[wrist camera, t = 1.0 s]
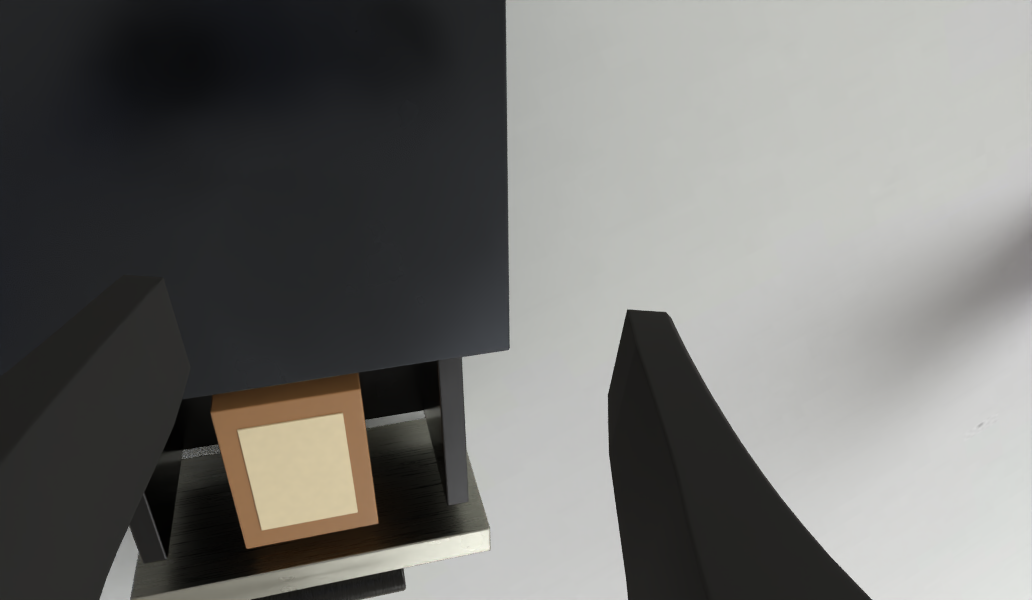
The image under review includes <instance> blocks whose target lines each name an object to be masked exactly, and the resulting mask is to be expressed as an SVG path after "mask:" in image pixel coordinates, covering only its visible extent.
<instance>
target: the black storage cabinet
mask: <svg viewBox="0 0 1032 600" xmlns="http://www.w3.org/2000/svg"><path fill="white" fill-rule="evenodd" d="M123 275H135V276H149V277H163V278H164V281H165V285H166V288H167V291H168V294H169V298H170V301H171V304H172V308H173V311H174V314H175V318H176V321H177V324H178V327H179V331H180V334H181V337H182V341H183V344H184V347H185V350H186V354H187V357H188V360H189V364H190V367H191V369H190V372H189V376H188V379H187V383H186V387H185V390H184V394H183V397H182V400H184V399H190V398H197V397H203V396H210V395H216V394H223V393H230V392H236V391H243V390H249V389H256V388H262V387H269V386H275V385H282V384H288V383H295V382H302V381H308V380H315V379H321V378H328V377H334V376H341V375H347V374H354V373H360V372H367V371H373V370H380V369H387V368H393V367H400V366H406V365H413V364H419V363H426V362H432V361H439V360H445V359H452V358H459V357H465V356H472V355H478V354H485V353H491V352H498V351H504V350H509V348H510V345H509V256H508V167H507V79H506V0H0V376H1V375H3V374H4V373H5V372H7V371H8V370H9V369H11V368H12V367H13V366H14V365H16V364H17V363H18V362H19V361H21V360H22V359H23V358H24V357H26V356H27V355H28V354H29V353H30V352H32V351H33V350H34V349H35V348H36V347H38V346H39V345H40V344H41V343H43V342H44V341H45V340H46V339H47V338H49V337H50V336H51V335H52V334H53V333H55V332H56V331H57V330H58V329H59V328H61V327H62V326H63V325H64V324H65V323H67V322H68V321H69V320H70V319H71V318H73V317H74V316H75V315H76V314H77V313H78V312H80V311H81V310H82V309H83V308H84V307H85V306H87V305H88V304H89V303H90V302H91V301H93V300H94V299H95V298H96V297H97V296H98V295H100V294H101V293H102V292H103V291H104V290H106V289H107V288H108V287H109V286H110V285H112V284H113V283H114V282H115V281H117V280H118V279H119V278H120V277H122V276H123Z"/></svg>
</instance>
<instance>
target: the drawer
mask: <svg viewBox="0 0 1032 600" xmlns="http://www.w3.org/2000/svg"><path fill="white" fill-rule="evenodd" d="M358 374H359V381H360V388H361V395H362V403H363V410H364V417H365V420H367V419H373V418H379V417H385V416H391V415H397V414H403V413H409V412H415V411H421V410H424V414H425V418H426V419H420V420H414V421H408V422H402V423H396V424H390V425H384V426H378V427H372V428H366V432H367V440H368V447H369V454H370V462H371V469H372V477H373V484H374V492H375V499H376V506H377V514H378V521H379V522H378V524H374V525H369V526H363V527H358V528H353V529H348V530H343V531H338V532H332V533H327V534H322V535H317V536H312V537H306V538H301V539H296V540H291V541H286V542H281V543H275V544H270V545H265V546H260V547H255V548H249V549H246V546H245V543H244V539H243V535H242V531H241V528H240V524H239V520H238V516H237V512H236V509H235V505H234V501H233V497H232V494H231V490H230V486H229V482H228V478H227V475H226V471H225V467H224V463H223V460H222V456H221V453H217V454H211V455H205V456H199V457H193V458H187V459H182V453H183V450H185V449H191V448H198V447H204V446H210V445H216V444H218V441H217V437H216V433H215V429H214V426H213V422H212V418H211V414H210V410H211V401H212V395H210V396H203V397H197V398H190V399H184V400H182V401H181V404H180V407H179V410H178V414H177V417H176V420H175V423H174V426H173V429H172V431H171V433H170V436H169V438H168V440H167V442H166V445H165V447H164V449H163V451H162V454H161V456H160V458H159V460H158V463H157V465H156V467H155V469H154V472H153V474H152V476H151V478H150V480H149V483H148V485H147V487H146V489H145V491H144V494H143V496H142V498H141V500H140V502H139V505H138V507H137V509H136V511H135V513H134V515H133V518H132V520H131V522H130V524H129V527H130V529H131V532H132V535H133V537H134V540H135V543H136V546H137V548H138V551H139V553H138V559H137V564H136V570H135V575H134V581H133V587H132V592H131V598H130V600H361V599H366V598H371V597H376V596H380V595H385V594H390V593H394V592H399V591H404V590H405V589H406V584H405V576H404V569H403V568H406V567H411V566H416V565H421V564H426V563H431V562H435V561H440V560H445V559H450V558H455V557H460V556H465V555H469V554H474V553H479V552H484V551H489V550H490V549H491V546H490V527H489V523H488V520H487V517H486V513H485V510H484V507H483V503H482V500H481V497H480V493H479V490H478V487H477V483H476V480H475V477H474V473H473V470H472V467H471V463H470V460H469V457H468V453H467V450H466V433H465V413H464V393H463V373H462V357H459V358H452V359H445V360H439V361H432V362H426V363H419V364H413V365H406V366H400V367H393V368H387V369H380V370H373V371H367V372H360V373H358Z"/></svg>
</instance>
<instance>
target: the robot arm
mask: <svg viewBox="0 0 1032 600" xmlns="http://www.w3.org/2000/svg"><path fill="white" fill-rule="evenodd" d="M190 369H191V367H190V364H189V360H188V357H187V354H186V350H185V347H184V344H183V341H182V337H181V334H180V331H179V327H178V324H177V321H176V318H175V314H174V311H173V308H172V304H171V301H170V298H169V294H168V291H167V288H166V285H165V281H164V278H163V277H149V276H135V275H123V276H122V277H120V278H119V279H118V280H117V281H115V282H114V283H113V284H112V285H110V286H109V287H108V288H107V289H106V290H104V291H103V292H102V293H101V294H100V295H98V296H97V297H96V298H95V299H94V300H93V301H91V302H90V303H89V304H88V305H87V306H85V307H84V308H83V309H82V310H81V311H80V312H78V313H77V314H76V315H75V316H74V317H73V318H71V319H70V320H69V321H68V322H67V323H65V324H64V325H63V326H62V327H61V328H59V329H58V330H57V331H56V332H55V333H53V334H52V335H51V336H50V337H49V338H47V339H46V340H45V341H44V342H43V343H41V344H40V345H39V346H38V347H36V348H35V349H34V350H33V351H32V352H30V353H29V354H28V355H27V356H26V357H24V358H23V359H22V360H21V361H19V362H18V363H17V364H16V365H14V366H13V367H12V368H11V369H9V370H8V371H7V372H5V373H4V374H3V375H1V376H0V600H99V599H100V596H101V593H102V590H103V587H104V584H105V581H106V578H107V576H108V573H109V571H110V568H111V566H112V563H113V561H114V558H115V556H116V553H117V551H118V548H119V546H120V544H121V542H122V540H123V537H124V535H125V533H126V531H127V529H128V526H129V524H130V522H131V520H132V518H133V515H134V513H135V511H136V509H137V507H138V505H139V502H140V500H141V498H142V496H143V494H144V491H145V489H146V487H147V485H148V483H149V480H150V478H151V476H152V474H153V472H154V469H155V467H156V465H157V463H158V460H159V458H160V456H161V454H162V451H163V449H164V447H165V445H166V442H167V440H168V438H169V436H170V433H171V431H172V429H173V426H174V423H175V420H176V417H177V414H178V410H179V407H180V404H181V401H182V397H183V394H184V390H185V387H186V383H187V379H188V376H189V372H190ZM608 430H609V457H610V464H611V472H612V480H613V487H614V494H615V502H616V509H617V516H618V524H619V531H620V538H621V545H622V552H623V560H624V567H625V574H626V582H627V592H628V600H872V599H871V598H870V597H869V596H868V595H867V594H866V593H865V592H864V591H863V590H862V589H861V588H860V587H859V586H858V585H857V584H856V583H855V582H854V581H853V579H852V578H851V577H850V576H849V575H848V574H847V573H846V572H845V571H844V570H843V569H842V568H841V567H840V566H839V565H838V564H837V563H836V562H835V561H834V560H833V559H832V558H831V557H830V555H829V554H828V553H827V552H826V551H825V550H824V549H823V547H822V546H821V545H820V544H819V543H818V542H817V541H816V539H815V538H814V537H813V536H812V535H811V534H810V532H809V531H808V530H807V529H806V528H805V527H804V525H803V524H802V523H801V522H800V521H799V519H798V518H797V517H796V516H795V514H794V513H793V512H792V511H791V509H790V508H789V507H788V506H787V505H786V503H785V502H784V501H783V500H782V498H781V497H780V496H779V494H778V493H777V492H776V490H775V489H774V488H773V486H772V485H771V484H770V482H769V481H768V480H767V478H766V477H765V476H764V474H763V473H762V472H761V470H760V469H759V467H758V466H757V464H756V463H755V461H754V460H753V459H752V457H751V456H750V454H749V453H748V451H747V450H746V449H745V447H744V446H743V444H742V443H741V441H740V440H739V438H738V437H737V435H736V433H735V432H734V430H733V429H732V427H731V426H730V424H729V422H728V421H727V419H726V418H725V416H724V414H723V413H722V411H721V409H720V408H719V406H718V405H717V403H716V401H715V400H714V398H713V396H712V395H711V393H710V391H709V390H708V388H707V386H706V384H705V383H704V381H703V379H702V377H701V375H700V374H699V372H698V370H697V368H696V366H695V365H694V363H693V361H692V359H691V357H690V355H689V353H688V351H687V349H686V347H685V346H684V344H683V342H682V340H681V338H680V336H679V333H678V331H677V329H676V327H675V325H674V323H673V321H672V319H671V317H670V316H669V315H668V314H667V313H666V312H656V311H641V310H627V313H626V317H625V322H624V326H623V331H622V335H621V340H620V344H619V349H618V353H617V357H616V362H615V366H614V371H613V375H612V380H611V384H610V389H609V393H608Z"/></svg>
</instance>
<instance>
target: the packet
mask: <svg viewBox="0 0 1032 600" xmlns="http://www.w3.org/2000/svg"><path fill="white" fill-rule="evenodd" d="M210 414H211V418H212V422H213V426H214V429H215V433H216V437H217V441H218V444H219V448H220V452H221V456H222V460H223V463H224V467H225V471H226V475H227V478H228V482H229V486H230V490H231V494H232V497H233V501H234V505H235V509H236V512H237V516H238V520H239V524H240V528H241V531H242V535H243V539H244V543H245V546H246V549H249V548H255V547H260V546H265V545H270V544H275V543H281V542H286V541H291V540H296V539H301V538H306V537H312V536H317V535H322V534H327V533H332V532H338V531H343V530H348V529H353V528H358V527H363V526H369V525H374V524H378V522H379V521H378V514H377V506H376V499H375V492H374V484H373V477H372V469H371V462H370V454H369V447H368V440H367V432H366V425H365V417H364V410H363V403H362V395H361V388H360V381H359V374H358V373H354V374H347V375H341V376H334V377H328V378H321V379H315V380H308V381H302V382H295V383H288V384H282V385H275V386H269V387H262V388H256V389H249V390H243V391H236V392H230V393H223V394H216V395H212V401H211V410H210Z"/></svg>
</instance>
